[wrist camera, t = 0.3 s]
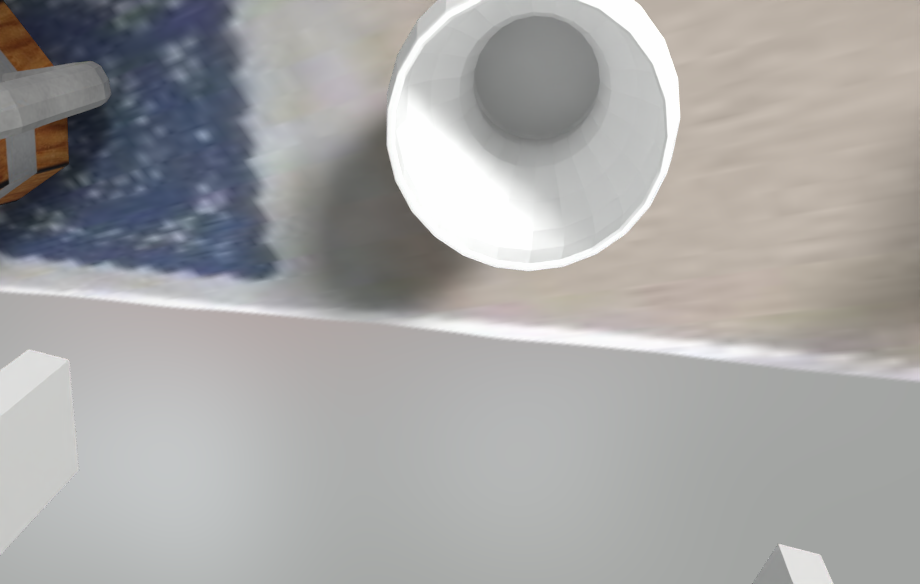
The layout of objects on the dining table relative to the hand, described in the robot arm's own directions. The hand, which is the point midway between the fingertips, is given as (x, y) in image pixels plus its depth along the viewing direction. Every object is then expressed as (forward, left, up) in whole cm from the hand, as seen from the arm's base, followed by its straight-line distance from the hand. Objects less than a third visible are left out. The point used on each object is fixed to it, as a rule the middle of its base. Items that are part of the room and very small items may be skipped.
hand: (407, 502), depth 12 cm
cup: (-4, +1, -28) cm, 28 cm away
